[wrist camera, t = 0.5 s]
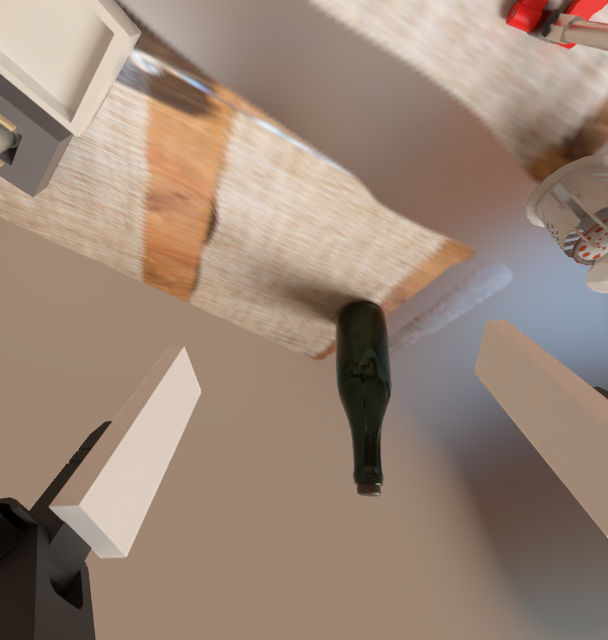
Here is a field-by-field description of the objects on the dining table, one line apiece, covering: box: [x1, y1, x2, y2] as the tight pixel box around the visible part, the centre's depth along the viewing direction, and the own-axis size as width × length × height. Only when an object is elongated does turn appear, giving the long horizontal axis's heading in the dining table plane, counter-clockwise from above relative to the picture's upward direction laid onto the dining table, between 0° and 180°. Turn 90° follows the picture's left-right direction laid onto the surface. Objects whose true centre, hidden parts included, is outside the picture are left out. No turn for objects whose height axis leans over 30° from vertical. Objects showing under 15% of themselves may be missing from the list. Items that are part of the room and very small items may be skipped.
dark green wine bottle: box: [336, 303, 392, 496], centre depth 50 cm, size 10×10×33 cm
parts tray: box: [0, 0, 142, 137], centre depth 26 cm, size 14×14×2 cm
